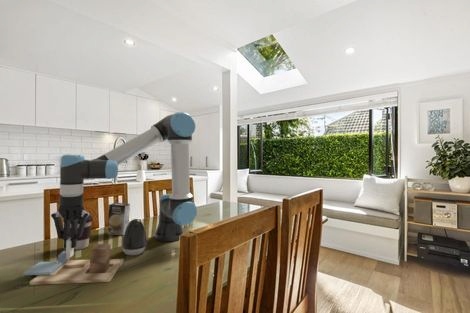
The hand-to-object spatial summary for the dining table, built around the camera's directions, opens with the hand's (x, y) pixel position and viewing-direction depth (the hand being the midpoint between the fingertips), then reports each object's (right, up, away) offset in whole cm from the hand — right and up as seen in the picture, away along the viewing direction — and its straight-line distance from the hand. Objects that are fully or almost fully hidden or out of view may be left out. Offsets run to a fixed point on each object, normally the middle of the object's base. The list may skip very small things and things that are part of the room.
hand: (69, 256), depth 93 cm
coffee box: (-1, -4, +40) cm, 40 cm away
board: (+8, -4, -5) cm, 10 cm away
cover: (-4, -2, -6) cm, 7 cm away
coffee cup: (-8, -4, +18) cm, 20 cm away
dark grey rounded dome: (+19, -5, +14) cm, 24 cm away
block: (+14, -4, -4) cm, 15 cm away
